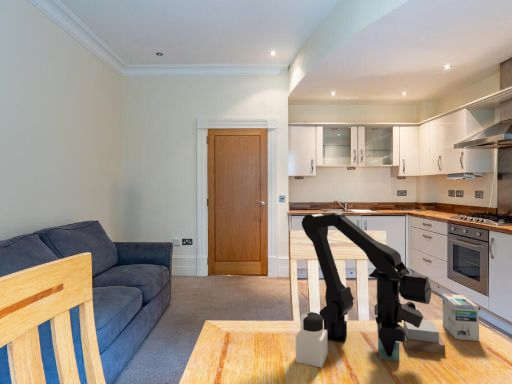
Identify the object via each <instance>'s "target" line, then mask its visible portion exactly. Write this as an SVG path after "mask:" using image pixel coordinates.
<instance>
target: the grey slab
mask: <svg viewBox="0 0 512 384" xmlns="http://www.w3.org/2000/svg"><path fill="white" fill-rule="evenodd" d="M403 326H404V330H405V333H406V335H407V338H408V339H411V340H419V341H427V342H435V343H439V336H440V331H439V330H438V328H437V327H436V325H435V323H434V322H433V320H426V319H422V322H421V324H420V326H419V328H417V327H415V326H414V325H412V324H410V323H407V322H405V321H403Z"/></svg>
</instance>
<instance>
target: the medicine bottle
mask: <svg viewBox="0 0 512 384" xmlns="http://www.w3.org/2000/svg"><path fill="white" fill-rule="evenodd" d="M328 354H329V353H328V340H327V330H325V329H324V319H323V317H322V316H321V315H320V313H317V312H313V311H307V312H304V313H302V314H300V329H299V330H298V332H297V333H296V335H295V362H296V363H300V364H304V365H308V366H311V367H316V368H323V367H324V364H325V362H326V360H327V357H328Z"/></svg>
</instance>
